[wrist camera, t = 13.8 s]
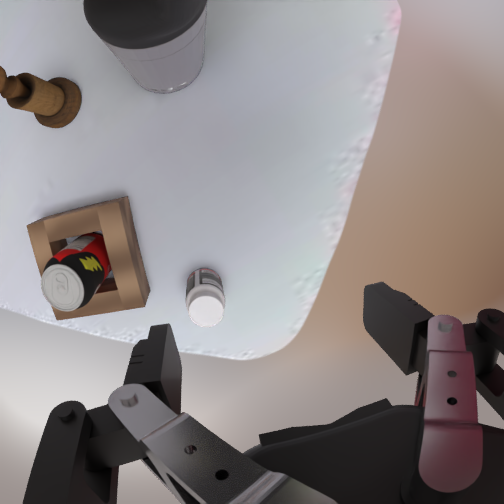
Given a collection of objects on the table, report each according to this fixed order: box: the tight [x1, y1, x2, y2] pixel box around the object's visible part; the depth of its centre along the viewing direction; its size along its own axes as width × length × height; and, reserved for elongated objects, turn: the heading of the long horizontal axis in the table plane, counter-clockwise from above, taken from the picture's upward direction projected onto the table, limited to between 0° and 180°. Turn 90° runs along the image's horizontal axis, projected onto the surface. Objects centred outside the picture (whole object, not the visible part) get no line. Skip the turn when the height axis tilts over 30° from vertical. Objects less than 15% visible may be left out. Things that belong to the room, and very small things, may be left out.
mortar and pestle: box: [0, 66, 81, 128], centre depth 24 cm, size 7×6×18 cm
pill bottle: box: [186, 269, 225, 327], centre depth 39 cm, size 5×5×8 cm
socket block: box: [27, 196, 150, 320], centre depth 37 cm, size 13×13×5 cm
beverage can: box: [41, 233, 112, 311], centre depth 33 cm, size 6×6×12 cm
